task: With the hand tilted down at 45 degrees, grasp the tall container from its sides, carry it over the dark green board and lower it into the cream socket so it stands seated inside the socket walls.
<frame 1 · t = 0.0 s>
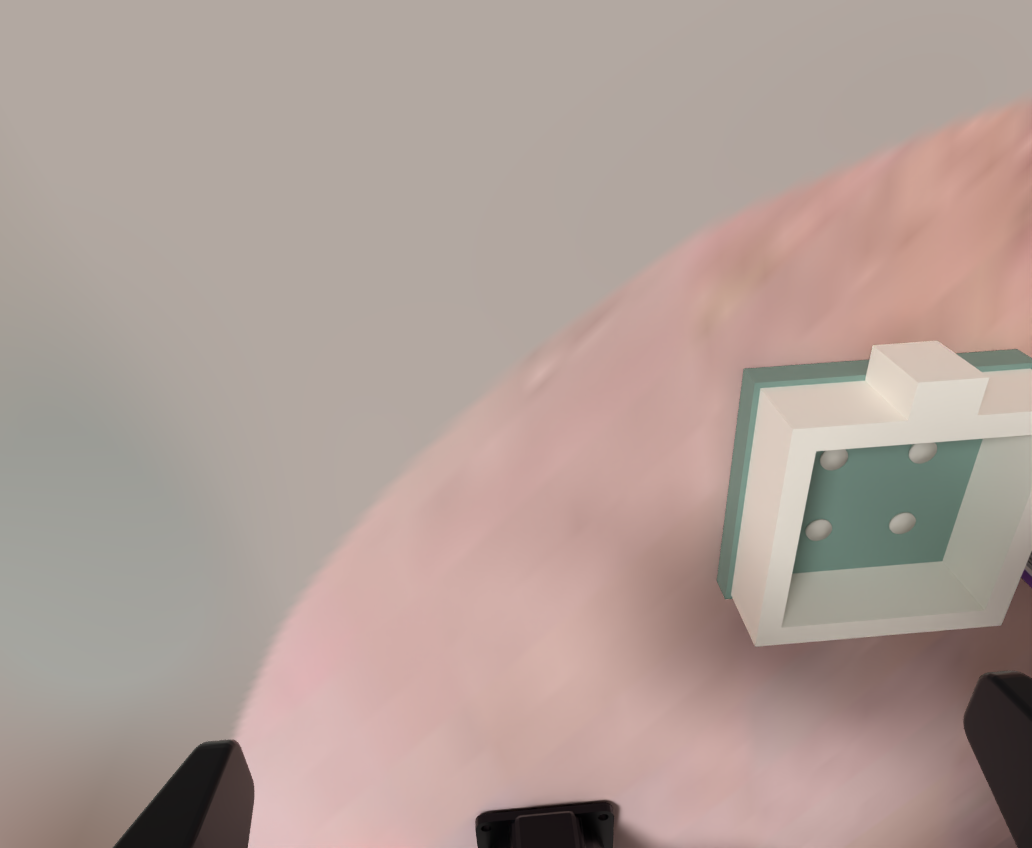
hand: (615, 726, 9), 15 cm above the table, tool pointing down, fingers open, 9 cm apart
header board: (854, 474, 26), on the table
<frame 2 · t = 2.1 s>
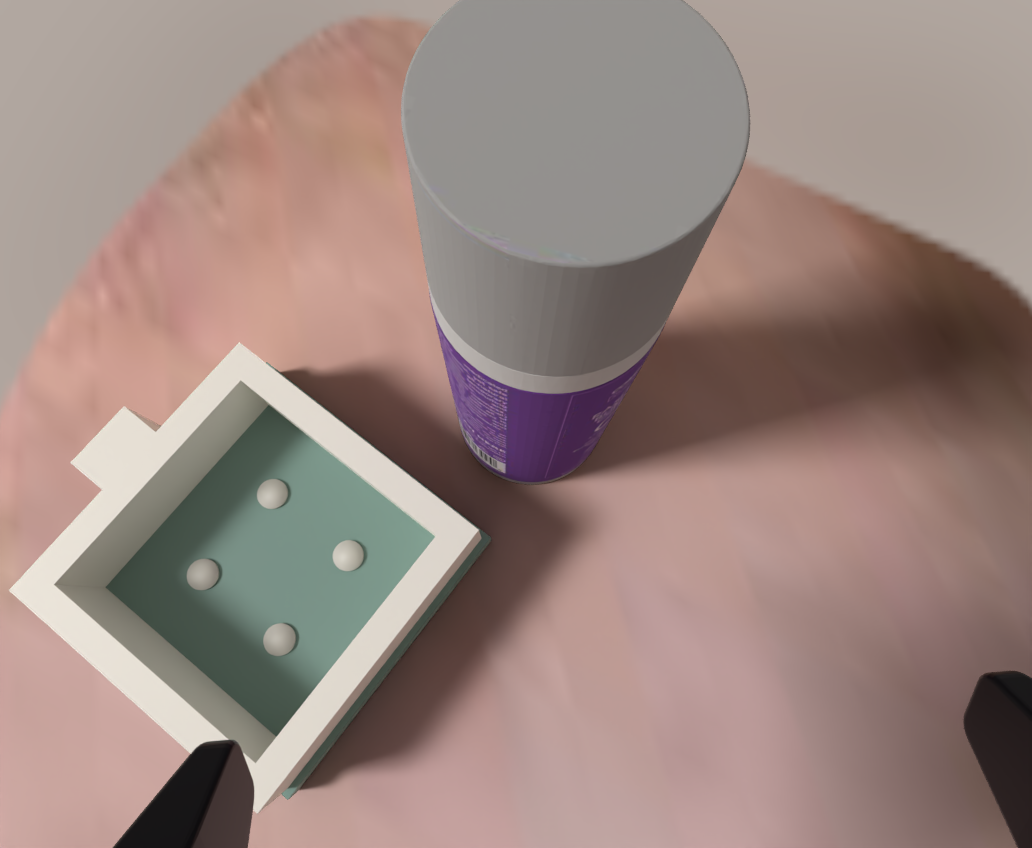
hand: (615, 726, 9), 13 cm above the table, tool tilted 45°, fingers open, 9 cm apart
container: (530, 416, 24), on the table
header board: (286, 567, 22), on the table
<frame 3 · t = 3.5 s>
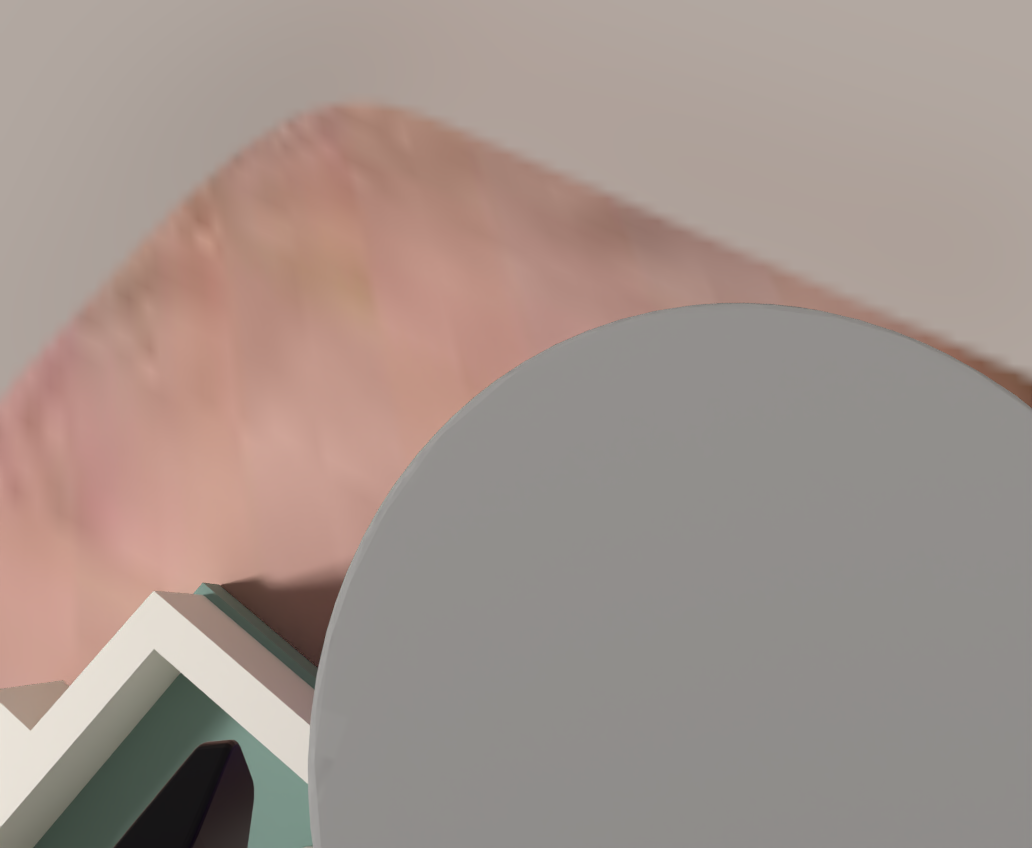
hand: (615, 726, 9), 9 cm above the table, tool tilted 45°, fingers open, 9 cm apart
container: (554, 641, 18), on the table
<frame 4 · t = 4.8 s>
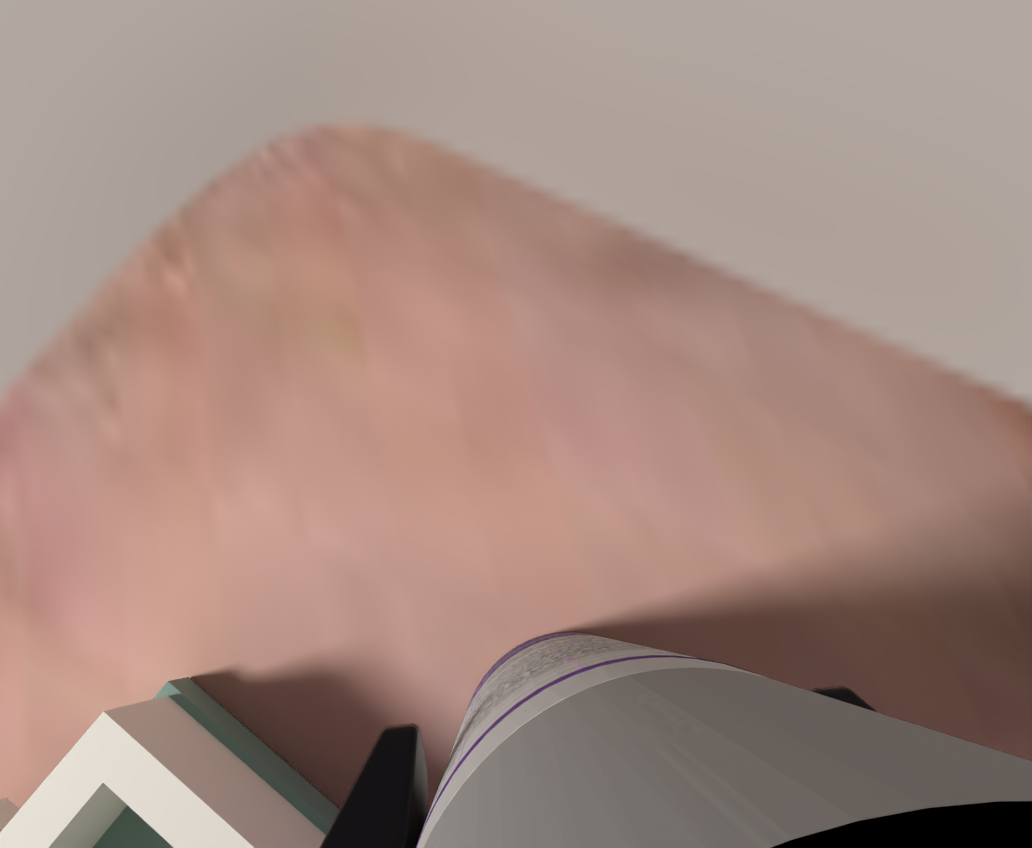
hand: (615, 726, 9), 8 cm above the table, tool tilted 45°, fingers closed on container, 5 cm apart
container: (568, 741, 16), on the table, touching gripper
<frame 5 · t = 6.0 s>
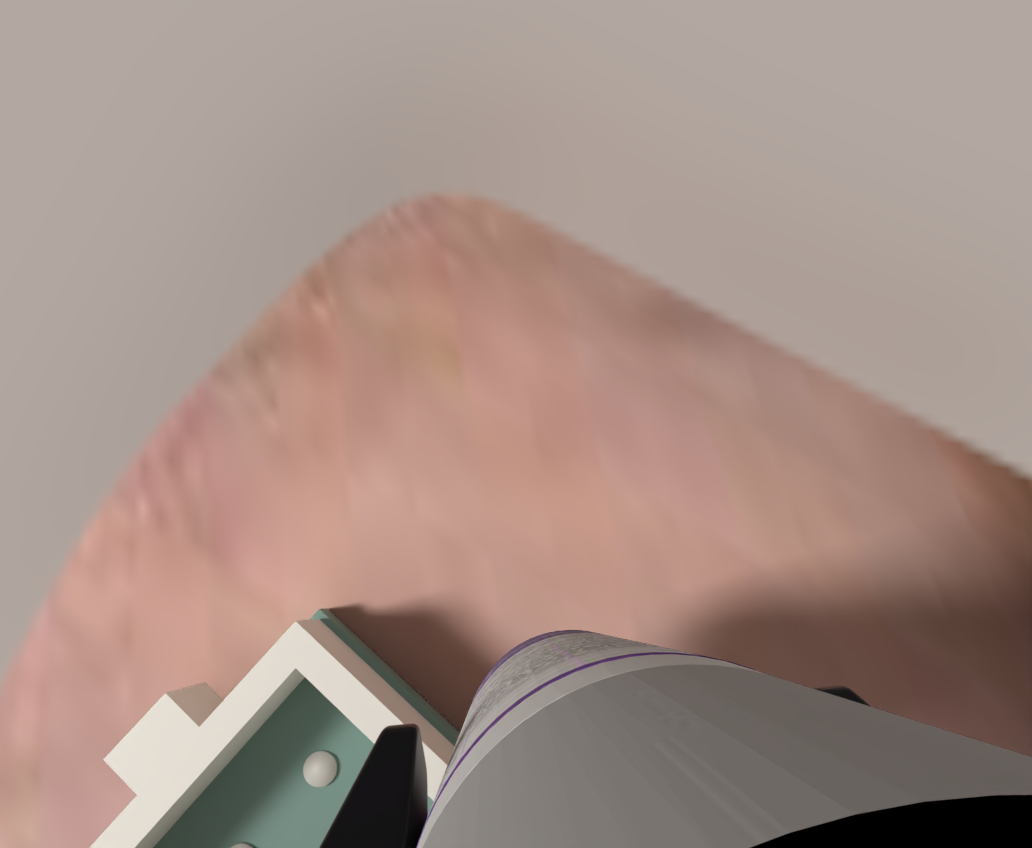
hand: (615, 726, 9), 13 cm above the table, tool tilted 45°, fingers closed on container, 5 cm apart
container: (571, 738, 16), point 5 cm above the table, touching gripper
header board: (329, 842, 20), on the table
when the fingers open (10 cm above the table, at t = 7.7 s): container drops 1 cm, resting on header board.
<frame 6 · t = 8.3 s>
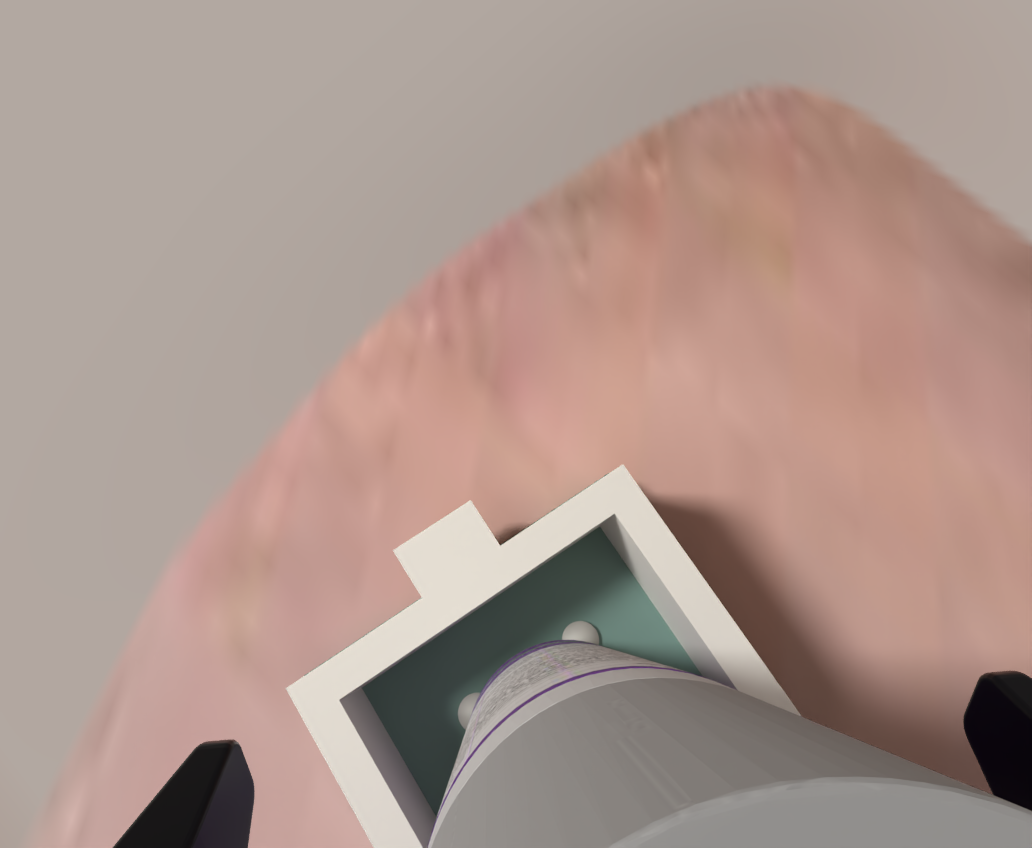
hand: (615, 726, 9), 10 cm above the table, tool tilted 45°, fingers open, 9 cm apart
container: (565, 741, 17), point 1 cm above the table, touching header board
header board: (561, 724, 18), on the table
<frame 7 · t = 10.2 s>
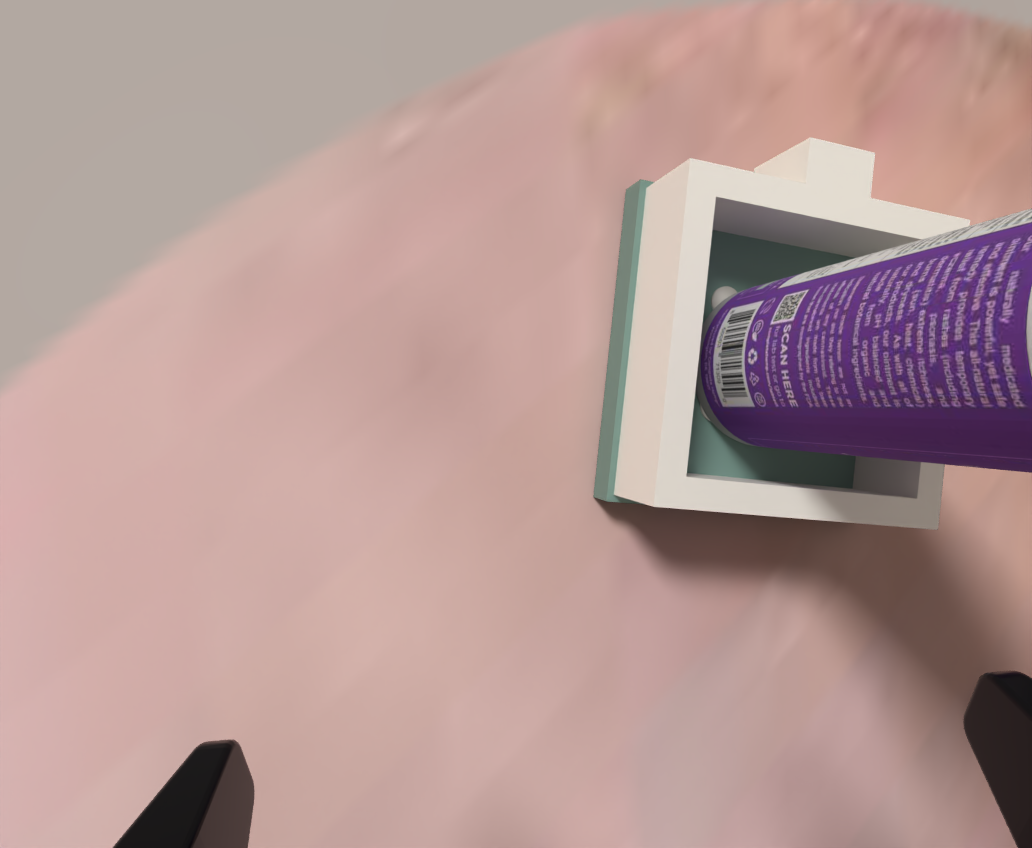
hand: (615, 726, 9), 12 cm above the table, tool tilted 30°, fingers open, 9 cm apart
container: (759, 367, 21), point 1 cm above the table, touching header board
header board: (745, 362, 22), on the table
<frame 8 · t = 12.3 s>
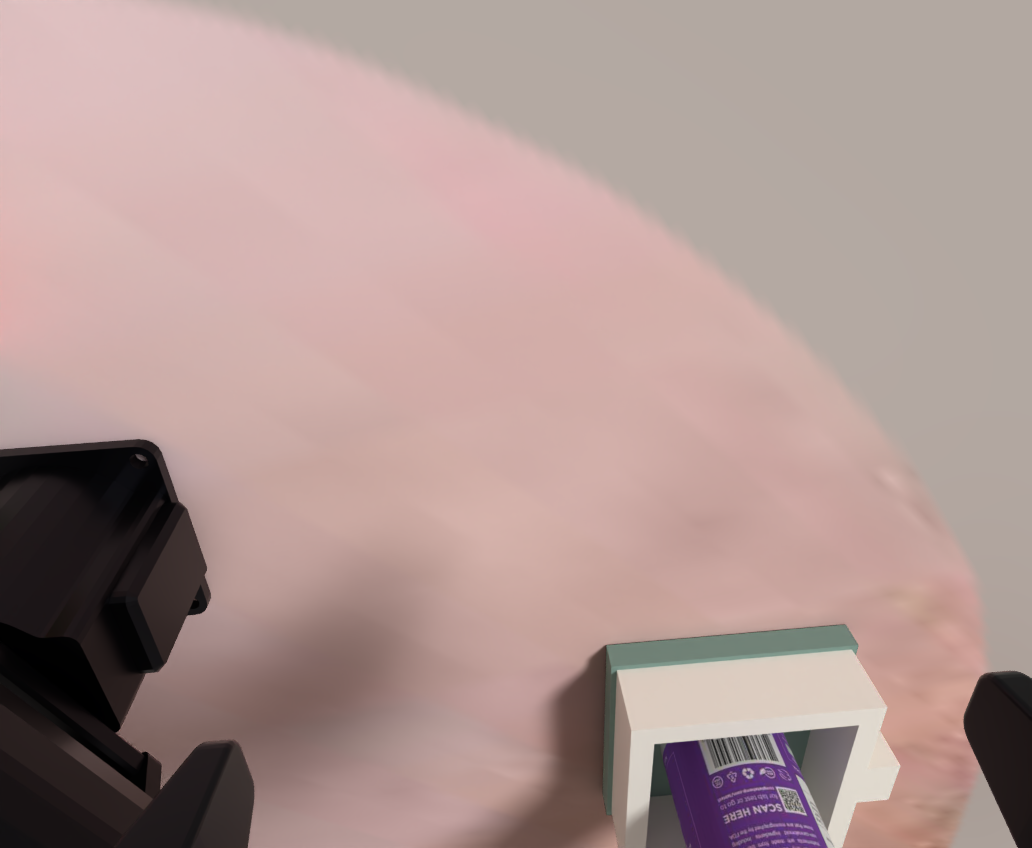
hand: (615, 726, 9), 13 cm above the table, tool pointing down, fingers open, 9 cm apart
container: (717, 733, 28), point 1 cm above the table, touching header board
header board: (715, 714, 29), on the table
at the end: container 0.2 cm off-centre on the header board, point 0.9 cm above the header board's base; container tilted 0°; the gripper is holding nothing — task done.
